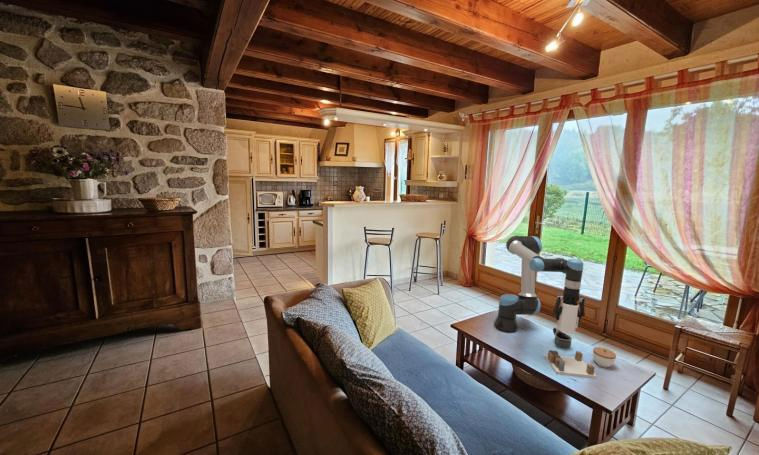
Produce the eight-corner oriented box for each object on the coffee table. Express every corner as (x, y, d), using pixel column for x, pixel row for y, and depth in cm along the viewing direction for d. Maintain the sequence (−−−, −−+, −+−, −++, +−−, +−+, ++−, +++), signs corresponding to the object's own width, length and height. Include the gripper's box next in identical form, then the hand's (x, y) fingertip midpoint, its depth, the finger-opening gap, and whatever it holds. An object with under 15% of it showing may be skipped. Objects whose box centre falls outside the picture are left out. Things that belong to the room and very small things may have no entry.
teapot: (563, 351, 196) (566, 336, 194) (545, 341, 207) (547, 327, 205) (574, 348, 200) (576, 333, 198) (556, 339, 211) (558, 324, 209)
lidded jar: (587, 361, 186) (589, 346, 185) (599, 357, 191) (601, 343, 189) (606, 371, 177) (608, 356, 175) (618, 367, 181) (621, 352, 180)
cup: (577, 334, 175) (581, 306, 173) (560, 332, 177) (564, 304, 175) (571, 328, 183) (575, 301, 181) (556, 326, 185) (559, 299, 183)
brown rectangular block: (562, 367, 175) (563, 360, 174) (556, 367, 176) (557, 359, 175) (555, 358, 184) (556, 351, 184) (549, 357, 185) (551, 350, 184)
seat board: (544, 356, 189) (545, 346, 188) (580, 360, 187) (582, 350, 186) (556, 374, 172) (558, 363, 171) (596, 378, 170) (598, 367, 169)
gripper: (554, 287, 174) (549, 327, 177) (596, 291, 171) (590, 331, 174) (549, 283, 182) (544, 321, 185) (589, 287, 179) (584, 325, 182)
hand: (566, 326), depth 180 cm, fingers closed on cup, 8 cm apart
